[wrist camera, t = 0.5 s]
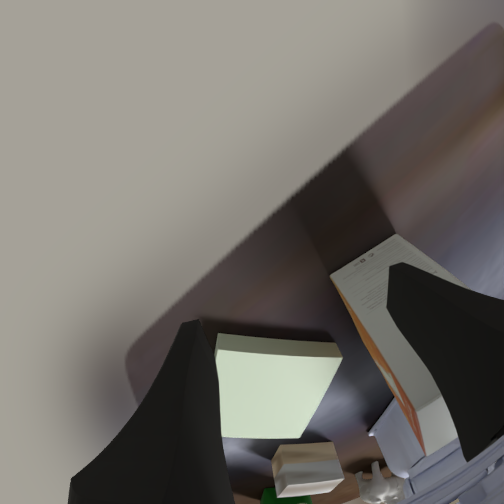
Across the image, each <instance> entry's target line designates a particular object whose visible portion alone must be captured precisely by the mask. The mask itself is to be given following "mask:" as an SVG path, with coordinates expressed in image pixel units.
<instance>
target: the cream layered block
mask: <svg viewBox="0 0 504 504" xmlns="http://www.w3.org/2000/svg"><path fill="white" fill-rule="evenodd" d="M271 462H272V469H273V475H274V481H275V487H276V493H277V498H279V497H292V496H303V495H311V494H319V493H326V492H330V491H331V490H332V489H334V488H335V487H336V486H337V485H338V484H339V483H340V482H341V481H342V480H343V479H344V475H343V472H342V469H341V466H340V463H339V460H338V457H337V454H336V450H335V447H334V444H333V442H322V443H308V444H285V445H280V446H279V448H278V450H277V451H276V453H275V455H274V457H273V458H272V460H271Z"/></svg>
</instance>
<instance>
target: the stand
mask: <svg viewBox="0 0 504 504" xmlns="http://www.w3.org/2000/svg"><path fill="white" fill-rule="evenodd" d="M214 356H215V360H216V366H217V372H218V379H219V392H220V414H221V434H222V437H233V438H263V439H280V438H300V436H301V435H302V433H303V431H304V430H305V428H306V426H307V425H308V423H309V421H310V419H311V418H312V416H313V414H314V412H315V411H316V409H317V407H318V405H319V403H320V402H321V400H322V398H323V396H324V394H325V392H326V390H327V389H328V387H329V385H330V383H331V381H332V379H333V377H334V375H335V373H336V371H337V369H338V367H339V365H340V363H341V361H342V359H343V357H342V355H341V353H340V351H339V349H338V346H337V344H336V343H330V342H311V341H296V340H283V339H271V338H260V337H250V336H240V335H231V334H223V333H218V336H217V341H216V347H215V353H214Z"/></svg>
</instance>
